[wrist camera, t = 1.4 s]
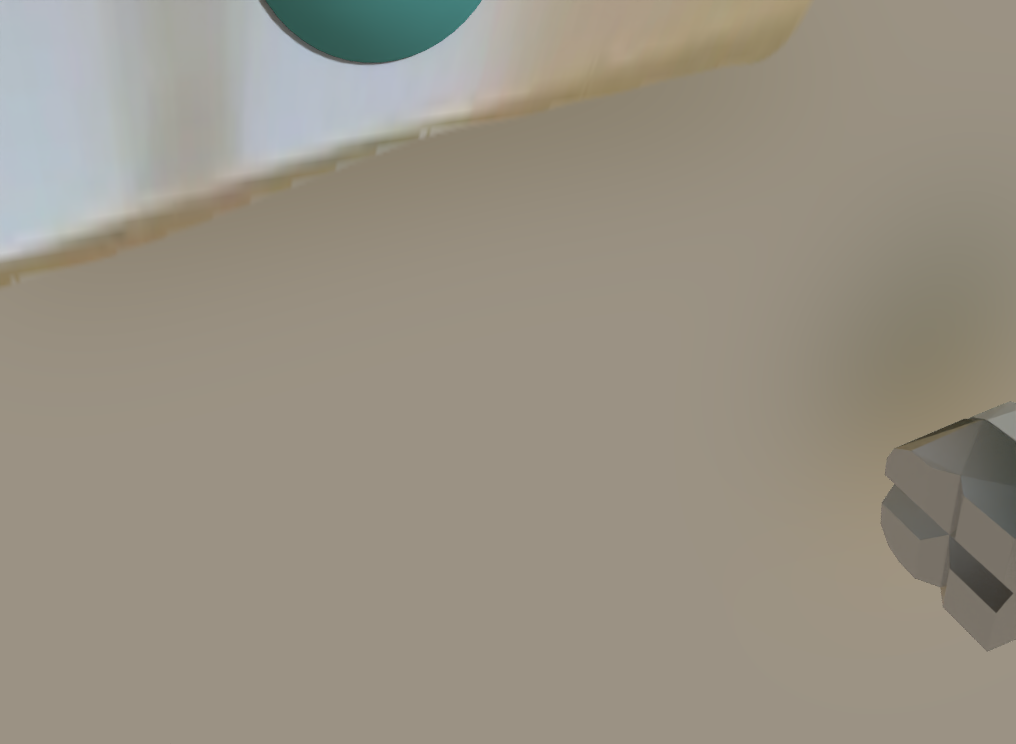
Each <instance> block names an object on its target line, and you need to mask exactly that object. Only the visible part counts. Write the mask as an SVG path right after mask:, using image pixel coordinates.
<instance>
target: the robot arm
mask: <svg viewBox="0 0 1016 744" xmlns="http://www.w3.org/2000/svg"><path fill="white" fill-rule="evenodd" d="M885 475H886V476H887V477H888V478H889V479H890V480H891V481H892V482H893V483H894V486H893V487H892V489H891V490H890V491H889V493H888V494H887V496H886V497H885V499H884V501H883V502H882V509H881V526H882V528H883V531H884V534H885V537H886V540H887V543H888V545H889V547H890V549H891V550H892V552H893V553H894V555H895V556H896V558H897V559H898V561H899V562H900V563H901V564H902V565H903V566H904V567H905V568H906V569H907V571H908V572H910V574H911V575H912V576H913V577H914V578H916V579H918V580H921V581H924V582H927V583H930V584H933V585H935V586H938V587H940V588H941V596H942V603H943V607H944V608H945V610H946V611H947V612H948V613H949V614H951V616H952V617H953V618H954V619H955V620H956V621H957V622H958V623H959V624H960V625H961V626H962V627H963V628H965V630H966V631H967V632H968V633H969V634H970V635H971V636H972V637H973V638H974V639H975V640H976V641H977V642H978V643H979V644H980V645H981V646H982V647H983V648H984V649H985V650H986V651H990V650H992V649H994V648H997V647H999V646H1001V645H1004V644H1006V643H1009V642H1011V641H1013V640H1016V403H1014V402H1008V403H1005V404H1002V405H1000V406H997V407H995V408H992V409H990V410H987V411H985V412H982V413H980V414H978V415H975V416H973V417H971V418H969V419H963V420H960V421H958V422H955V423H953V424H951V425H948V426H946V427H944V428H941V429H939V430H937V431H934V432H932V433H930V434H927V435H925V436H923V437H920V438H918V439H915V440H913V441H911V442H908V443H906V444H904V445H901V446H899V447H897V448H894V450H893V451H892V452H891V454H890V455H889V456H888V458H887V463H886V470H885Z"/></svg>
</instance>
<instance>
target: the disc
mask: <svg viewBox="0 0 1016 744" xmlns="http://www.w3.org/2000/svg"><path fill="white" fill-rule="evenodd" d="M266 2H267V3H268V4H269V6H270V7H271V8H272V10H273V11H274V13H275V14H276V15H277V17H278V18H279V19H280V20H281V21H282V22H283V23H284V24H285V25H286V26H287V27H288V28H289V29H290V30H291V31H292V32H293V33H294V34H296V35H297V36H298V37H299V38H301V39H302V40H303V41H305V42H306V43H308V44H310V45H311V46H313V47H315V48H316V49H318V50H320V51H323V52H325V53H327V54H329V55H332V56H335V57H338V58H342V59H346V60H350V61H357V62H387V61H395V60H399V59H403V58H406V57H410V56H413V55H415V54H418V53H420V52H423V51H425V50H427V49H429V48H430V47H432V46H434V45H436V44H438V43H439V42H441V41H442V40H444V39H445V38H446V37H448V36H449V35H450V34H452V33H453V32H454V31H455V30H456V29H457V28H458V27H459V26H461V25H462V24H463V23H464V22H465V21H466V20H467V18H468V17H469V16H470V15H471V14H472V13H473V11H474V10H475V9H476V8H477V6H478V5H479V3H480V2H481V0H266Z"/></svg>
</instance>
